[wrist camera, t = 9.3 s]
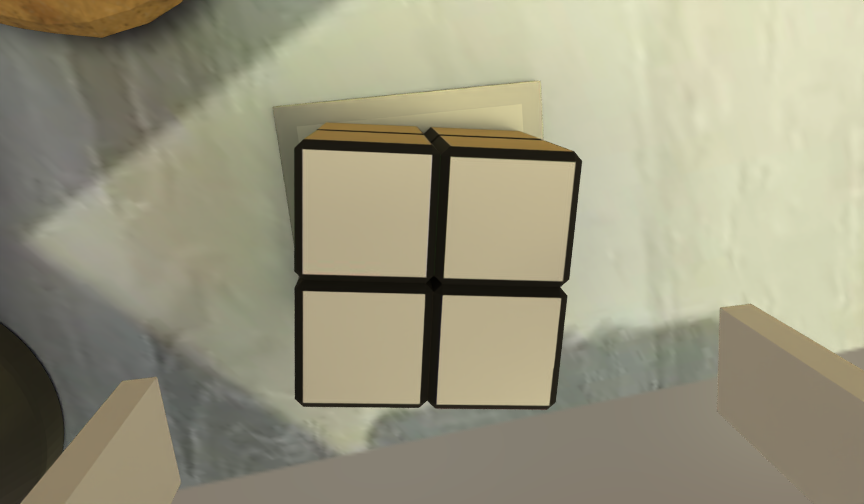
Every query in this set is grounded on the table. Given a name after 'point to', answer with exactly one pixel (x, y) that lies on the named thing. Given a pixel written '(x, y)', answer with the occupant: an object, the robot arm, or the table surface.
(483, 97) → the trivet
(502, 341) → the puzzle cube
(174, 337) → the table surface
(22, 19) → the potato
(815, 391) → the robot arm
